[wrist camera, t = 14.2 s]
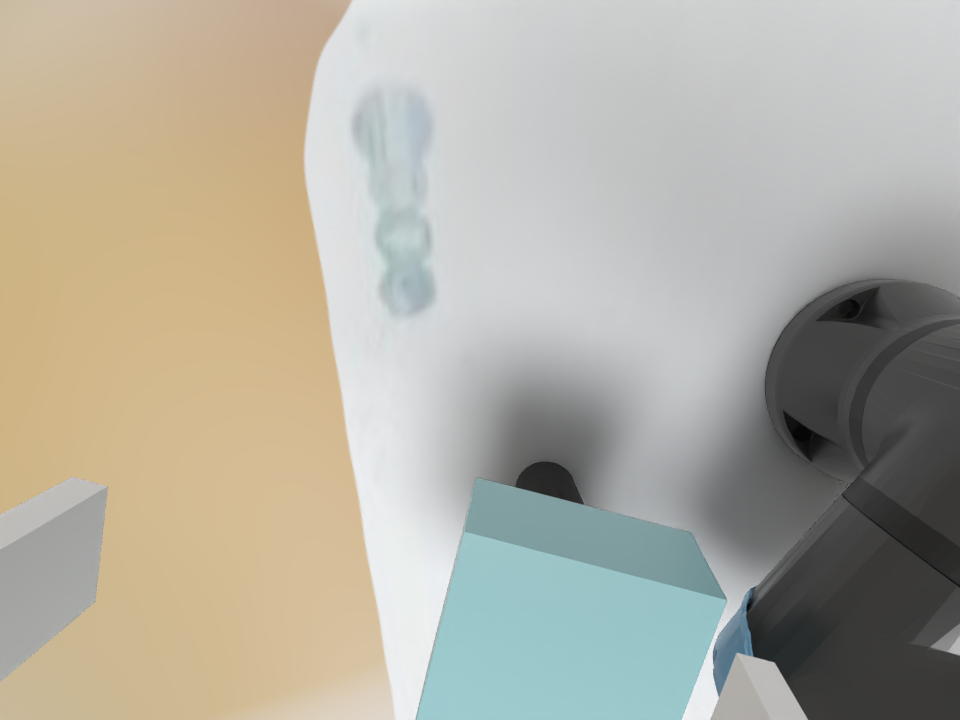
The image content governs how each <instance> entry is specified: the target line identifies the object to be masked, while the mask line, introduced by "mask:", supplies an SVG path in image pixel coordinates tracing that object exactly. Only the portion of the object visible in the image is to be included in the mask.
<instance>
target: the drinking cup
mask: <svg viewBox="0 0 960 720" xmlns="http://www.w3.org/2000/svg"><path fill="white" fill-rule="evenodd" d="M516 488H520V489H524V490H528V491H532V492H535V493H539V494H543V495H547V496H551V497H555V498H559V499H563V500H566V501H570V502H574V503H578V504H582V505H584V503H583V501H582V499H581V497H580V494H579V492H578V490H577V487H576V485H575V483H574V481H573V478H572V477H571V475H570V474H569V472H568V471H567V470H566V469H565V468H563V467H562V466H560V465H558V464H555V463H552V462H539V463H535V464H532V465H530V466H529V467H527V468H526V469H525V470H524V471H523V472H522V473H521V474H520V476H519V478H518V480H517V483H516Z"/></svg>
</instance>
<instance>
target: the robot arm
mask: <svg viewBox="0 0 960 720" xmlns="http://www.w3.org/2000/svg"><path fill="white" fill-rule="evenodd" d="M765 393H766V402H767V407H768V411H769V414H770V417H771V420H772V422H773V424H774V426H775V428H776V430H777V432H778V433H779V435H780V436H781V438H782V439H783V440H784V442H785V443H786V444H787V445H788V446H789V447H790V448H791V449H792V450H793V451H794V452H795V453H796V454H798V455H799V456H800V457H801V458H803V459H804V460H805V461H806V462H808V463H809V464H810V465H812V466H813V467H815V468H816V469H818V470H819V471H821V472H823V473H825V474H827V475H829V476H831V477H834V478H836V479H839V480H841V481H845V482H848V483H852V484H851V485H850V486H849V487H848V488H847V489H846V490H845V491H844V493H842V494H841V495H840V496H839V497H838V498H837V500H836V501H835V502H834V503H833V504H832V505H831V506H830V507H829V509H828V510H827V511H826V512H825V513H824V514H823V515H822V516H821V517H820V519H819V520H818V521H817V522H816V523H815V524H814V525H813V526H812V527H811V528H810V529H809V531H808V532H807V533H806V534H805V535H804V536H803V537H802V538H801V539H800V540H799V541H798V542H797V544H796V545H795V546H794V547H793V548H792V549H791V550H790V551H789V552H788V553H787V554H786V556H785V557H784V558H783V559H782V560H781V561H780V562H779V563H778V564H777V565H776V566H775V567H774V569H773V570H772V571H771V572H770V573H769V574H768V575H767V576H766V577H765V578H764V579H763V580H762V582H761V583H760V584H759V585H757V586H756V587H754V588H751V589H750V590H749V591H748V592H747V594H746V595H745V597H744V599H743V601H742V606H741V607H740V609H739V610H738V611H737V612H736V614H735V615H734V616H733V617H732V619H731V620H730V621H729V622H728V624H727V625H726V626H725V627H724V629H723V630H722V631H721V633H720V634H719V636H718V638H717V640H716V642H715V645H714V649H713V664H714V669H713V676H714V681H715V685H716V689H717V693H718V696H719V699H718V702H717V704H716V707H715V710H714V712H713V715H712V717H711V720H960V298H958V297H957V296H955V295H953V294H951V293H949V292H947V291H945V290H942V289H939V288H937V287H934V286H931V285H927V284H923V283H918V282H910V281H902V280H892V279H875V280H866V281H860V282H856V283H852V284H848V285H845V286H842V287H840V288H837V289H835V290H833V291H831V292H828V293H827V294H825V295H823V296H821V297H820V298H818V299H816V300H815V301H814V302H812V303H811V304H809V305H808V306H807V307H806V308H804V309H803V310H802V311H801V312H800V313H799V314H798V315H797V316H796V317H795V318H794V319H793V320H792V321H791V322H790V324H789V325H788V326H787V327H786V329H785V330H784V332H783V333H782V335H781V336H780V338H779V340H778V341H777V343H776V345H775V347H774V350H773V352H772V355H771V358H770V361H769V364H768V368H767V374H766V383H765ZM107 489H108V486H105V485H101V484H97V483H93V482H89V481H86V480H82V479H78V478H74V477H71V478H69V479H68V480H66V481H64V482H62V483H60V484H58V485H56V486H54V487H52V488H50V489H48V490H46V491H45V492H43V493H41V494H39V495H37V496H35V497H33V498H31V499H29V500H27V501H26V502H24V503H22V504H20V505H18V506H16V507H14V508H12V509H10V510H8V511H6V512H5V513H3V514H1V515H0V682H1V681H2V680H3V679H4V678H6V677H7V676H8V675H9V674H10V673H11V672H13V671H14V670H15V669H16V668H17V667H19V666H20V665H21V664H22V663H23V662H25V661H26V660H27V659H28V658H29V657H31V656H32V655H33V654H34V653H35V652H36V651H38V650H39V649H40V648H41V647H42V646H43V645H45V644H46V643H47V642H48V641H50V640H51V639H52V638H53V637H54V636H56V635H57V634H58V633H59V632H60V631H61V630H63V629H64V628H65V627H66V626H67V625H69V624H70V623H71V622H72V621H73V620H75V619H76V618H77V617H78V616H79V615H80V614H82V612H84V611H85V610H86V609H88V608H89V607H90V606H91V605H92V604H94V603H95V599H96V590H97V589H96V588H97V580H98V572H99V562H100V552H101V544H102V535H103V525H104V516H105V508H106V498H107Z"/></svg>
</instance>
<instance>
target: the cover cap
mask: <svg viewBox="0 0 960 720" xmlns="http://www.w3.org/2000/svg"><path fill="white" fill-rule="evenodd" d="M726 602H727V599H726V597H725V595H724V593H723V591H722V590H721V588H720V586H719V584H718V582H717V580H716V578H715V577H714V575H713V573H712V571H711V569H710V567H709V565H708V564H707V562H706V560H705V558H704V556H703V554H702V552H701V551H700V549H699V547H698V545H697V543H696V541H695V539H694V537H693V536H692V534H691V532H687V531H683V530H679V529H675V528H671V527H667V526H663V525H660V524H656V523H652V522H648V521H644V520H640V519H636V518H632V517H629V516H625V515H621V514H617V513H613V512H609V511H605V510H601V509H598V508H594V507H590V506H586V505H582V504H578V503H574V502H570V501H566V500H563V499H559V498H555V497H551V496H547V495H543V494H539V493H535V492H532V491H528V490H524V489H520V488H516V487H512V486H508V485H504V484H501V483H497V482H493V481H489V480H485V479H481V478H477V477H476V480H475V484H474V488H473V492H472V496H471V499H470V503H469V507H468V511H467V515H466V519H465V523H464V527H463V531H462V535H461V539H460V542H459V546H458V550H457V554H456V558H455V562H454V566H453V570H452V574H451V578H450V582H449V585H448V589H447V593H446V597H445V601H444V605H443V609H442V613H441V617H440V621H439V625H438V628H437V632H436V636H435V640H434V644H433V648H432V652H431V656H430V660H429V664H428V668H427V673H426V677H425V681H424V686H423V690H422V694H421V698H420V703H419V707H418V711H417V716H416V720H682V717H683V714H684V712H685V709H686V706H687V704H688V701H689V699H690V696H691V693H692V691H693V688H694V686H695V683H696V680H697V678H698V675H699V673H700V670H701V667H702V665H703V662H704V659H705V657H706V654H707V652H708V649H709V646H710V644H711V641H712V639H713V636H714V633H715V631H716V628H717V626H718V623H719V620H720V618H721V615H722V612H723V610H724V607H725V605H726Z"/></svg>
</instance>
